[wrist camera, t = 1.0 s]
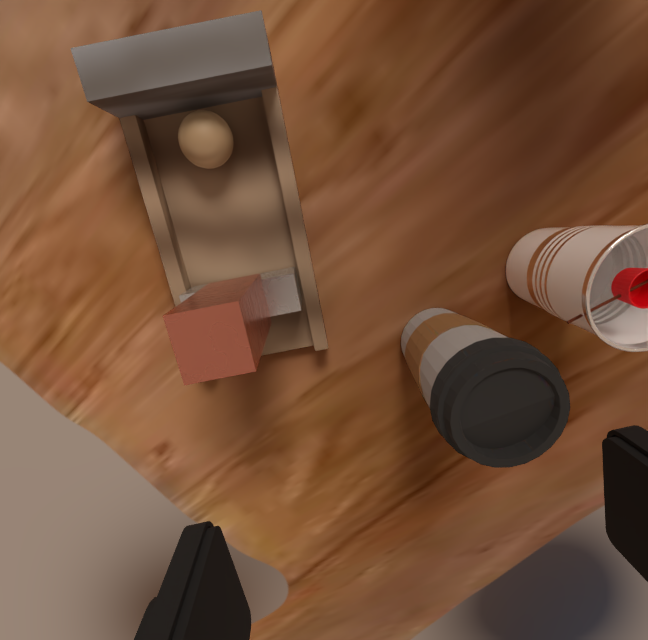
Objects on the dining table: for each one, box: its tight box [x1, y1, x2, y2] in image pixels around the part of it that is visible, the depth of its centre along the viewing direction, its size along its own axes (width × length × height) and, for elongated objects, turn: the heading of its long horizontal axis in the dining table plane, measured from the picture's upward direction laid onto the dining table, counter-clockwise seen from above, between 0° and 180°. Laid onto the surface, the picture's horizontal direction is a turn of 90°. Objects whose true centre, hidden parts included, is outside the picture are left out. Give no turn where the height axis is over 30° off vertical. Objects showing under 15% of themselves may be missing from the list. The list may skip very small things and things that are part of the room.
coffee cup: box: [401, 308, 570, 467], centre depth 31 cm, size 8×8×15 cm
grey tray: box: [71, 11, 328, 356], centre depth 31 cm, size 24×12×7 cm, turn 11°
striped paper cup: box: [506, 224, 648, 352], centre depth 31 cm, size 10×8×12 cm
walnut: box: [178, 110, 234, 169], centre depth 29 cm, size 4×4×4 cm
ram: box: [163, 267, 302, 385], centre depth 28 cm, size 4×9×14 cm, turn 101°
